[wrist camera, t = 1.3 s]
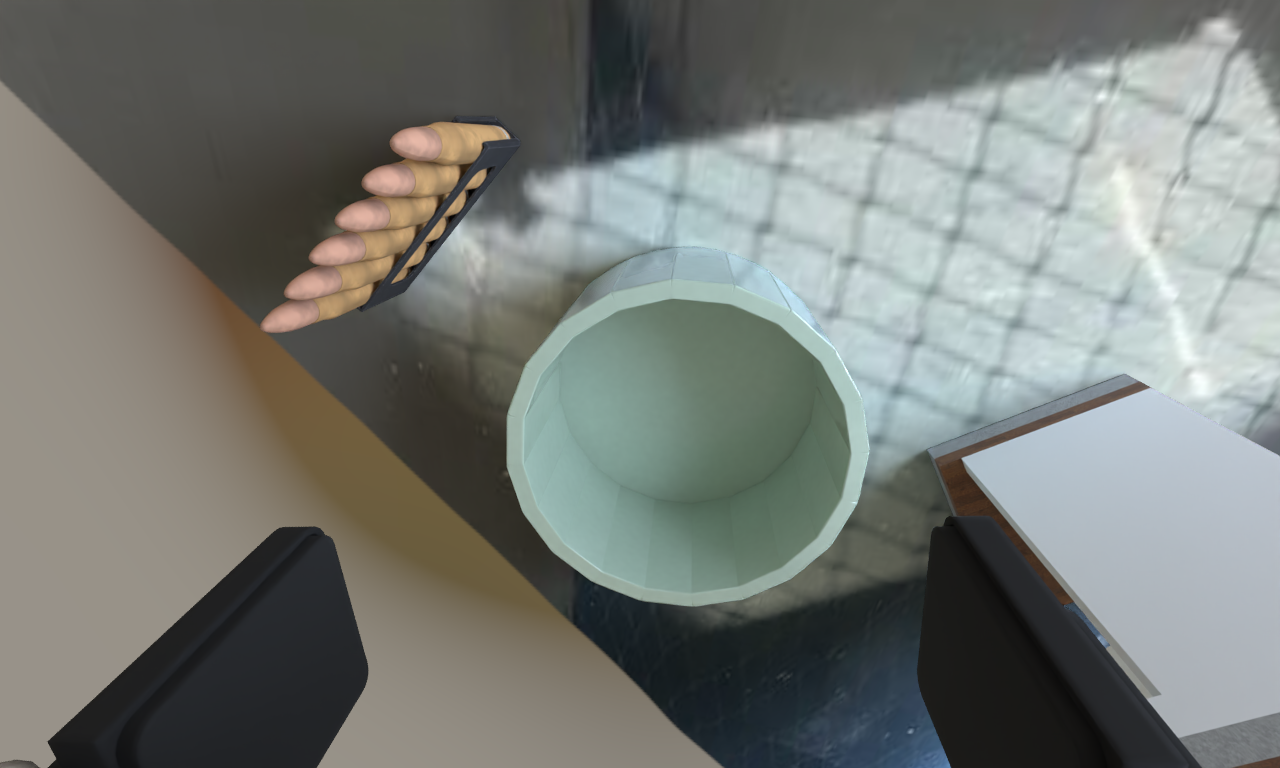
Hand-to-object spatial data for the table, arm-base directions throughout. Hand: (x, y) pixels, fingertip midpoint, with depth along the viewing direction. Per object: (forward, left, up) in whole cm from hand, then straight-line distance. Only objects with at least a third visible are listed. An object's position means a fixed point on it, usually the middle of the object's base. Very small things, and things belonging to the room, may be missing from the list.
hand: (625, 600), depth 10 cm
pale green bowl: (+5, -4, -26) cm, 27 cm away
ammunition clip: (-11, -5, -26) cm, 29 cm away
